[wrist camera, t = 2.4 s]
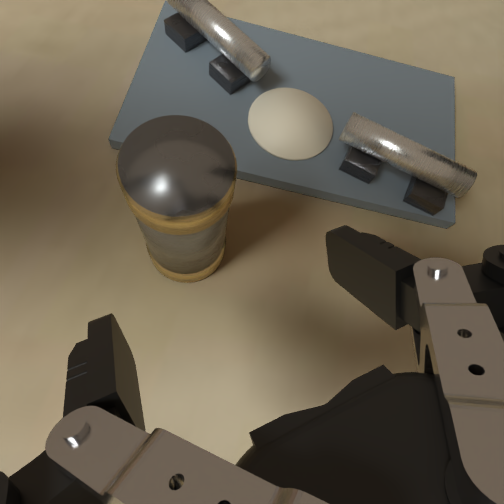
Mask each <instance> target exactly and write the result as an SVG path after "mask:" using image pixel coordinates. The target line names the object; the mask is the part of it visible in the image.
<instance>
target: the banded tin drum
mask: <svg viewBox="0 0 504 504" xmlns="http://www.w3.org/2000/svg"><path fill="white" fill-rule="evenodd" d="M116 173H117V179H118V181H119V184H120V187H121V189H122V192H123V194H124V196H125V199H126V201H127V203H128V205H129V207H130V209H131V211H132V212H133V213H134V215H135V216H136V219H137V221H138V224H139V226H140V228H141V231H142V233H143V236H144V238H145V241H146V245H147V249H148V252H149V255H150V257H151V259H152V262H153V264H154V266H155V267H156V268H157V270H158V271H159V272H160V273H161V274H163V275H164V276H165V277H167V278H169V279H171V280H174V281H177V282H184V283H189V282H196V281H199V280H202V279H204V278H206V277H208V276H209V275H211V274H212V273H213V272H214V271H215V270H216V269H217V268H218V266H219V265H220V263H221V261H222V258H223V255H224V249H225V242H226V236H225V232H226V225H227V219H228V212H229V206H230V204H231V202H232V199H233V194H234V188H235V181H236V175H237V162H236V157H235V153H234V151H233V149H232V147H231V145H230V144H229V142H228V141H227V139H226V138H225V137H224V136H223V135H222V134H221V133H220V132H219V131H218V130H217V129H216V128H214V127H213V126H212V125H210V124H208V123H207V122H205V121H202V120H200V119H197V118H194V117H190V116H184V115H168V116H161V117H157V118H154V119H151V120H149V121H147V122H145V123H143V124H141V125H140V126H138V127H137V128H135V129H134V130H133V131H132V132H131V133H130V134H129V135H128V136H127V138H126V139H125V141H124V142H123V144H122V146H121V148H120V150H119V153H118V156H117V161H116Z"/></svg>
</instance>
